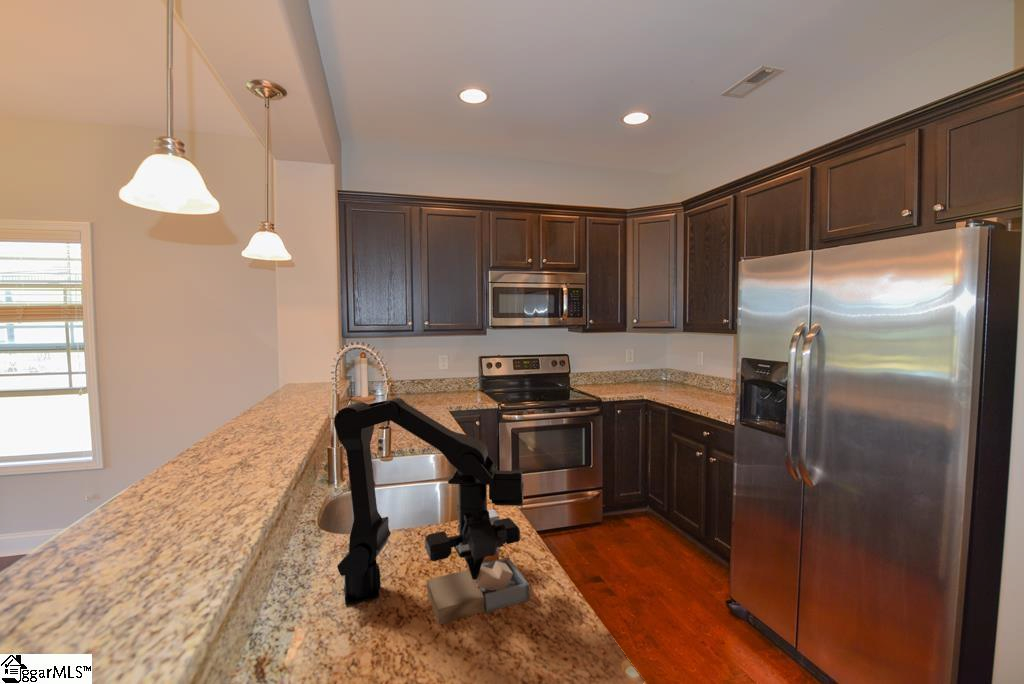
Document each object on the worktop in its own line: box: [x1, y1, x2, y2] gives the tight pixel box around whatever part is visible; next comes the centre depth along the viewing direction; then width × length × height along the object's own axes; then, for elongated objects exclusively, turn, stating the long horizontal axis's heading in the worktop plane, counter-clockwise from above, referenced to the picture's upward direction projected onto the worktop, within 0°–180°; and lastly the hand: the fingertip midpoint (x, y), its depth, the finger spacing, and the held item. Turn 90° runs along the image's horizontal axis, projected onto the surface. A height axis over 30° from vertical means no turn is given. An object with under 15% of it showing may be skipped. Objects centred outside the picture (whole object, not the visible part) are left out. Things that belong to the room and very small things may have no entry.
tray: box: [479, 557, 530, 613], centre depth 90 cm, size 9×11×3 cm
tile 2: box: [493, 561, 513, 591], centre depth 90 cm, size 4×4×2 cm
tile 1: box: [474, 566, 499, 591], centre depth 89 cm, size 4×4×2 cm
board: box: [426, 568, 485, 626], centre depth 87 cm, size 9×10×3 cm
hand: (474, 578), depth 88 cm, fingers closed
